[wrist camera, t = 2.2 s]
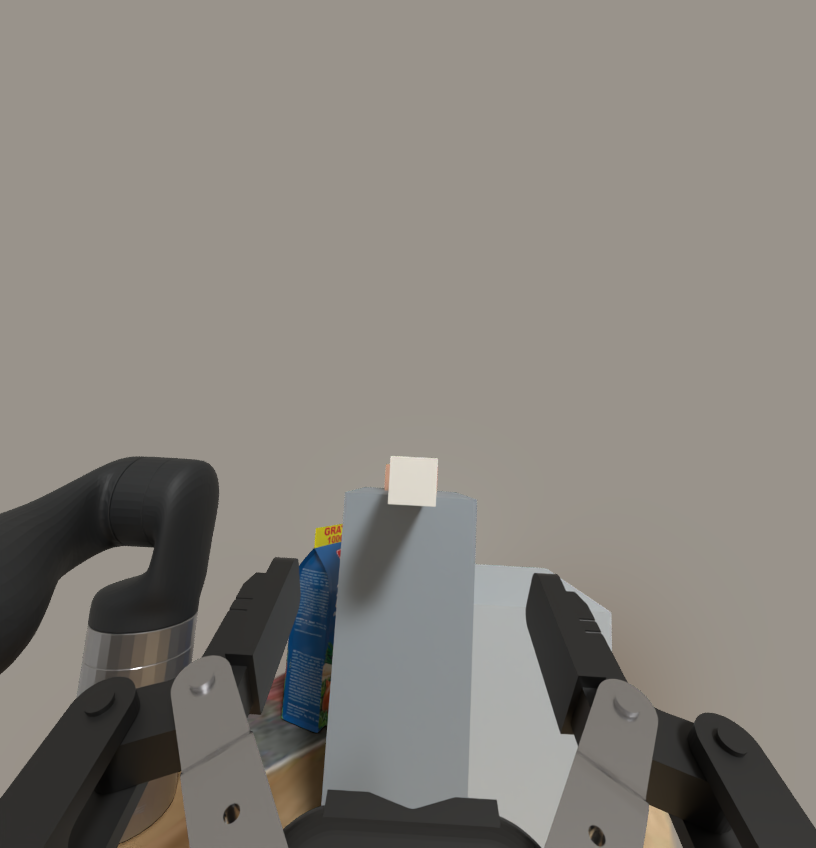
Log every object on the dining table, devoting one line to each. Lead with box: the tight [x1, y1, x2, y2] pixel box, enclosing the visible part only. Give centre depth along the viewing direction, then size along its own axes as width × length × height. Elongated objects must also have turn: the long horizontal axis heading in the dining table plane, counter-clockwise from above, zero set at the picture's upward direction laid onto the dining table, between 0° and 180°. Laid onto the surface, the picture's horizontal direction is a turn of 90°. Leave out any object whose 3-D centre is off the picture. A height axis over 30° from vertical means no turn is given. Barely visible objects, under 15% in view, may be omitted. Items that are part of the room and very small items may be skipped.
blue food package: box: [282, 524, 343, 733], centre depth 56 cm, size 6×12×25 cm, turn 155°
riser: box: [321, 487, 612, 848], centre depth 40 cm, size 16×24×31 cm, turn 90°
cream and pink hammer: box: [385, 456, 438, 507], centre depth 36 cm, size 24×6×3 cm, turn 0°
